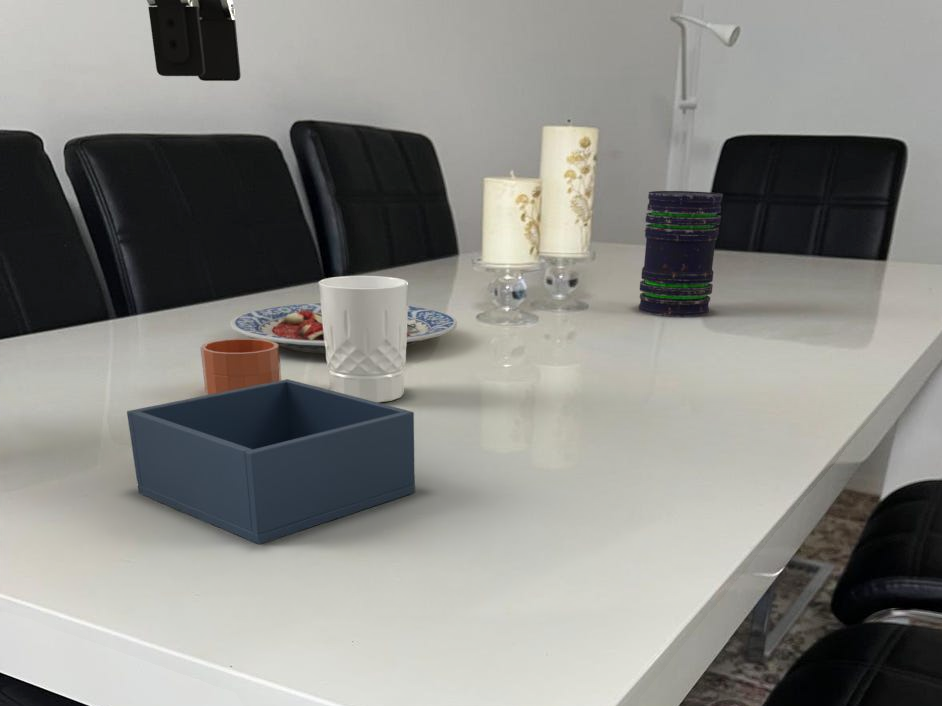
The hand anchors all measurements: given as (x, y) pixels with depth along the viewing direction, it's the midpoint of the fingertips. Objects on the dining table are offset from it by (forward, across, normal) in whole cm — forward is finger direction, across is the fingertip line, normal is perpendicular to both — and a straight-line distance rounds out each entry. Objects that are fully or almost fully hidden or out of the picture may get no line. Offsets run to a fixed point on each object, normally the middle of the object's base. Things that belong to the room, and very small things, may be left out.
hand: (201, 78), depth 72 cm
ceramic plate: (+26, -36, +4) cm, 44 cm away
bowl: (+25, -9, -2) cm, 27 cm away
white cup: (+26, -10, +10) cm, 29 cm away
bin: (+25, +18, +7) cm, 32 cm away
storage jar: (+26, -62, +45) cm, 81 cm away
